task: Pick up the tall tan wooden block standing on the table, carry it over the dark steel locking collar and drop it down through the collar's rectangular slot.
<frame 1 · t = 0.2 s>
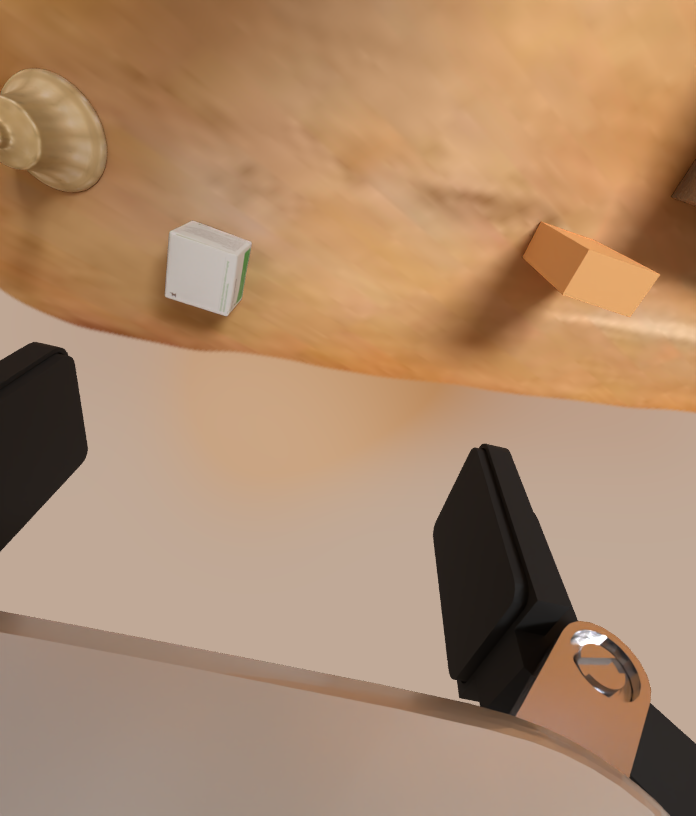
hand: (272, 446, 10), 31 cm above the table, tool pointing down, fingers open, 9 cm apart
small box: (219, 260, 39), on the table
tall tan wooden block: (558, 249, 36), on the table
hand bell: (57, 134, 34), on the table
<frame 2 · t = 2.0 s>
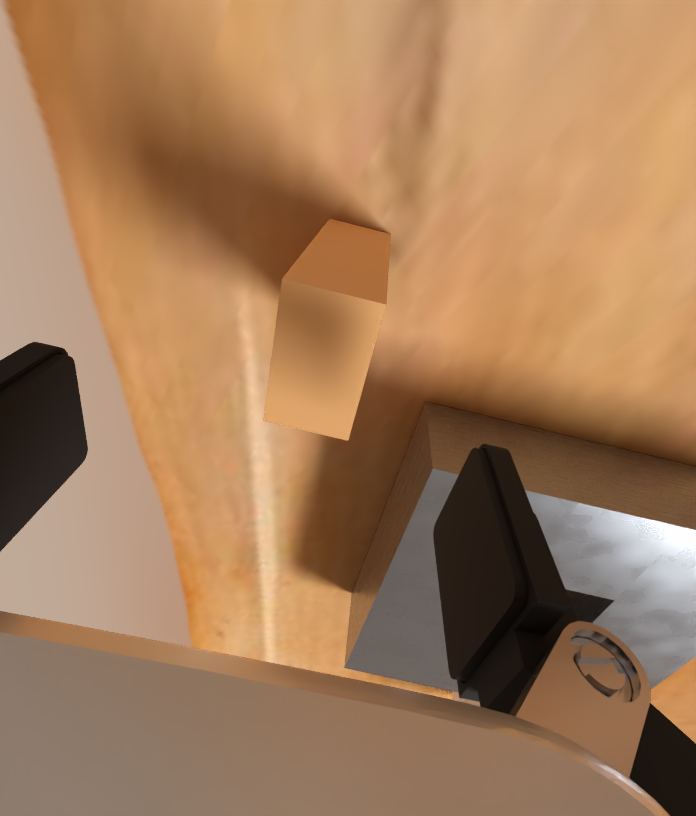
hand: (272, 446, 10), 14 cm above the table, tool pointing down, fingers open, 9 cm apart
tall tan wooden block: (349, 277, 22), on the table
collar: (515, 545, 31), on the table
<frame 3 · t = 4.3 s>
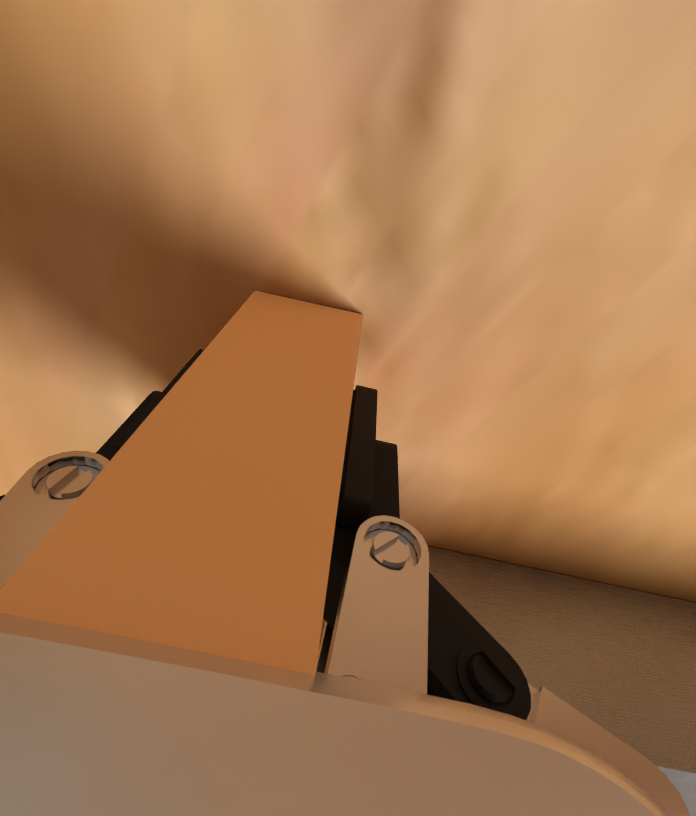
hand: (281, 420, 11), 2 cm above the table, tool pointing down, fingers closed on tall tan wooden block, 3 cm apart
tall tan wooden block: (297, 380, 13), on the table, touching gripper
collar: (547, 704, 22), on the table
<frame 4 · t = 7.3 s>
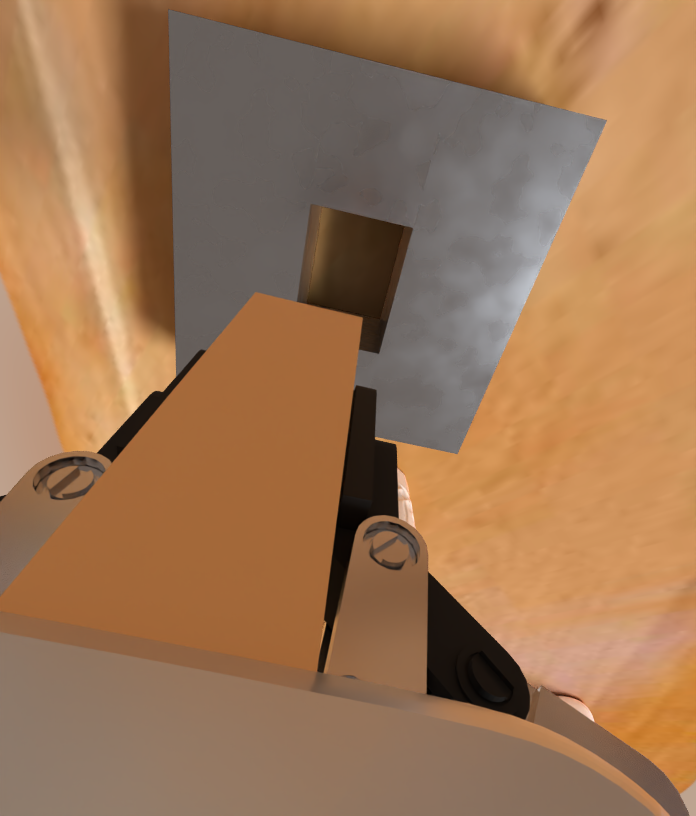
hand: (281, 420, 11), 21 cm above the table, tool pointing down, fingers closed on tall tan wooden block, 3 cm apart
white cup: (372, 483, 41), on the table
tall tan wooden block: (296, 382, 13), point 19 cm above the table, touching gripper
collar: (354, 259, 29), on the table
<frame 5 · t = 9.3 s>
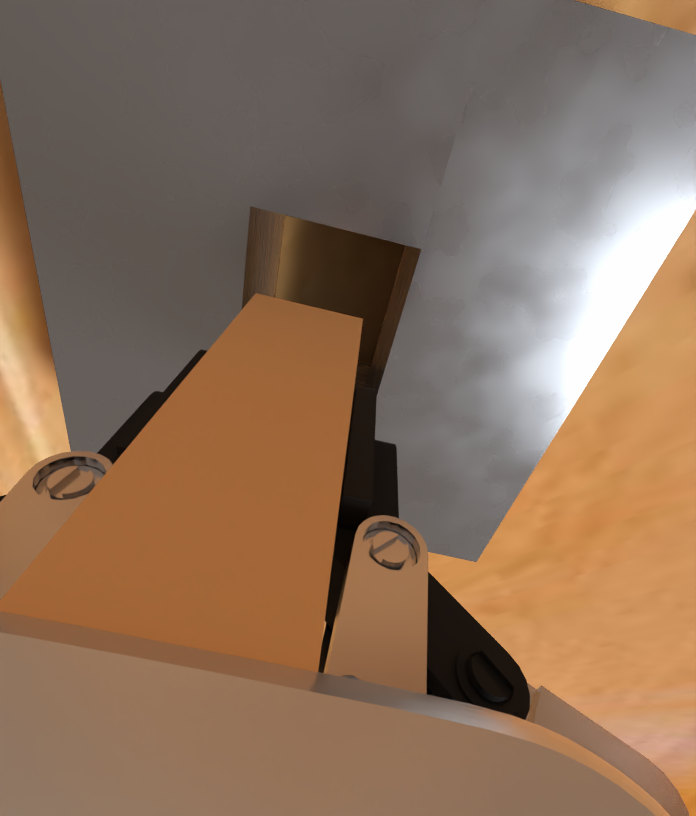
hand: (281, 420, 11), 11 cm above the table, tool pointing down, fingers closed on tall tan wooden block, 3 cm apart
tall tan wooden block: (296, 383, 13), point 9 cm above the table, touching gripper
collar: (334, 285, 20), on the table
when the fingers open (7 cm above the table, at t = 10.8 s): tall tan wooden block drops 5 cm, resting in collar.
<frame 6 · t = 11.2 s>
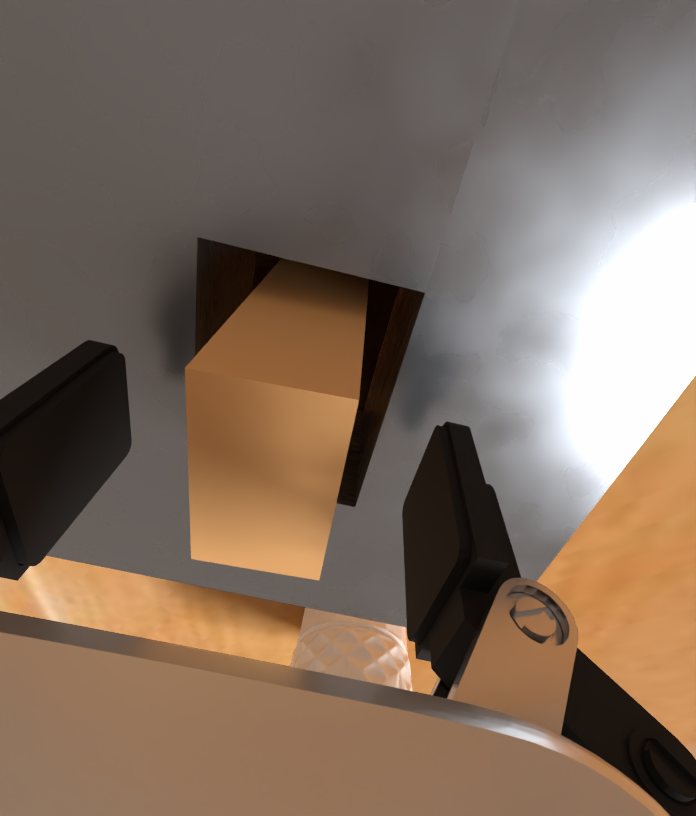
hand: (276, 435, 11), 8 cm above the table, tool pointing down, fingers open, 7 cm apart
white cup: (353, 615, 28), on the table
tall tan wooden block: (321, 319, 17), resting in collar
collar: (318, 319, 17), on the table
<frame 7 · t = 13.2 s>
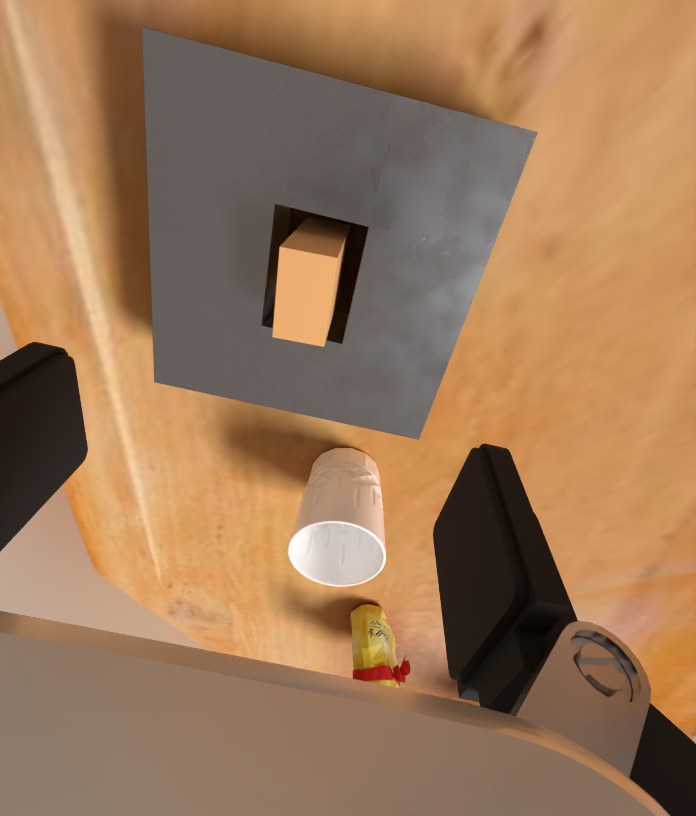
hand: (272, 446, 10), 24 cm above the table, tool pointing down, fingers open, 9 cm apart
chocolate bunny: (381, 622, 56), on the table
white cup: (345, 471, 43), on the table
tall tan wooden block: (324, 256, 31), resting in collar
collar: (322, 257, 31), on the table
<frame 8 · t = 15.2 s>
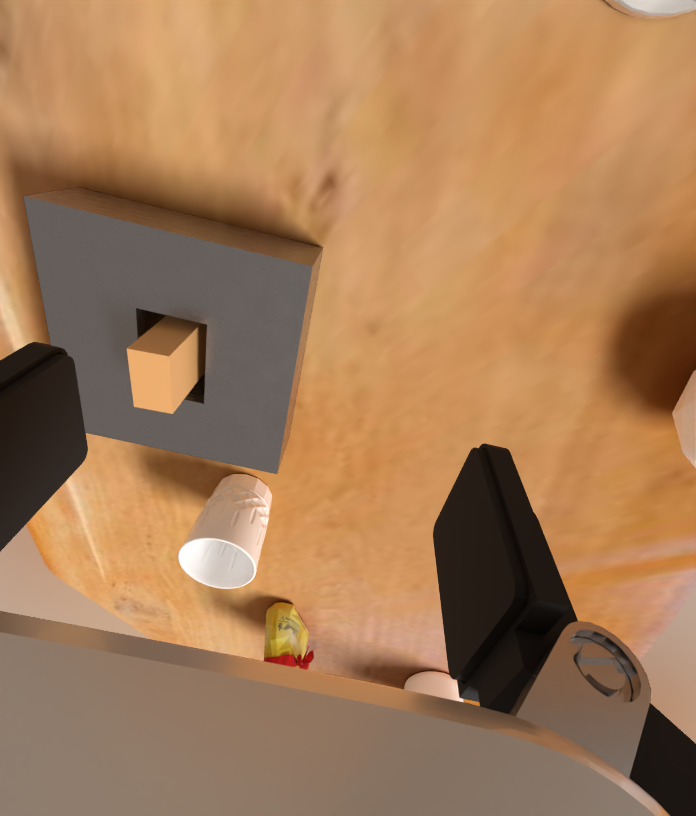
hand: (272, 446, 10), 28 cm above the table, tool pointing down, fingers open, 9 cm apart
chocolate bunny: (297, 617, 65), on the table
white cup: (245, 492, 51), on the table
tall tan wooden block: (200, 330, 40), resting in collar
wine bottle: (431, 681, 72), on the table
collar: (199, 330, 40), on the table
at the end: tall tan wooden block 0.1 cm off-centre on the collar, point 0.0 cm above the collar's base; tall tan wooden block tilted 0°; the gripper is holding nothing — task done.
